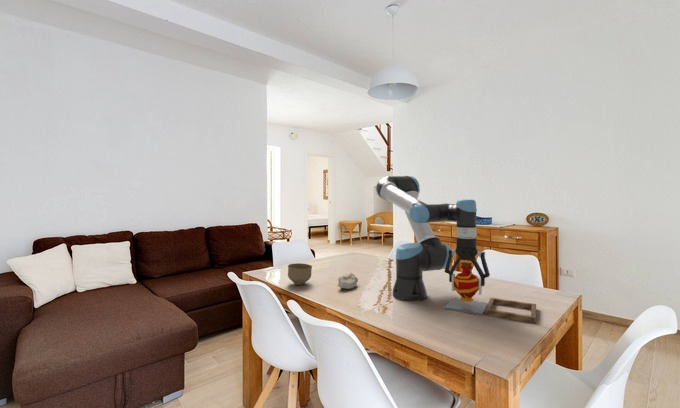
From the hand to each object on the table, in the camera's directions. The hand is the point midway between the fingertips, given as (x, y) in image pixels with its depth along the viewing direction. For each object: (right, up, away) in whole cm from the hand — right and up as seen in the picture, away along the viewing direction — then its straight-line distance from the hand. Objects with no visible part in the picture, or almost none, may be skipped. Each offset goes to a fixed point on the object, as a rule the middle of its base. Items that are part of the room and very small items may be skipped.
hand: (466, 291), depth 133 cm
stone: (-48, -6, +30) cm, 57 cm away
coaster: (0, -6, 0) cm, 6 cm away
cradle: (+15, -6, -7) cm, 17 cm away
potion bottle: (0, -3, 0) cm, 3 cm away
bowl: (-72, -6, +37) cm, 82 cm away
